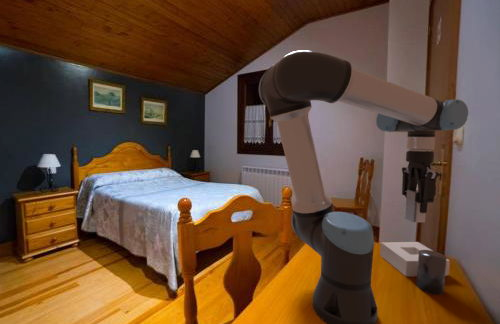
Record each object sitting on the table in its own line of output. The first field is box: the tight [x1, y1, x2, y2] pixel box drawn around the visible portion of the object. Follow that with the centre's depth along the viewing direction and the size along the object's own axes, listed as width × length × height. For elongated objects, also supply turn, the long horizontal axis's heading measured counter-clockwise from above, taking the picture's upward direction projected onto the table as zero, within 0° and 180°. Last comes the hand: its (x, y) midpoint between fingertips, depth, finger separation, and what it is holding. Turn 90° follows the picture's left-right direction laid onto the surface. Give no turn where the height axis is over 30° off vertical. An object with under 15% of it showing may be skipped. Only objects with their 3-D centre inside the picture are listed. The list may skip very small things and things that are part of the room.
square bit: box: [404, 189, 424, 223], centre depth 83 cm, size 4×4×10 cm
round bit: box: [415, 249, 448, 296], centre depth 71 cm, size 6×6×10 cm
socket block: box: [379, 241, 451, 277], centre depth 84 cm, size 14×14×5 cm
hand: (415, 219), depth 83 cm, fingers closed on square bit, 4 cm apart
